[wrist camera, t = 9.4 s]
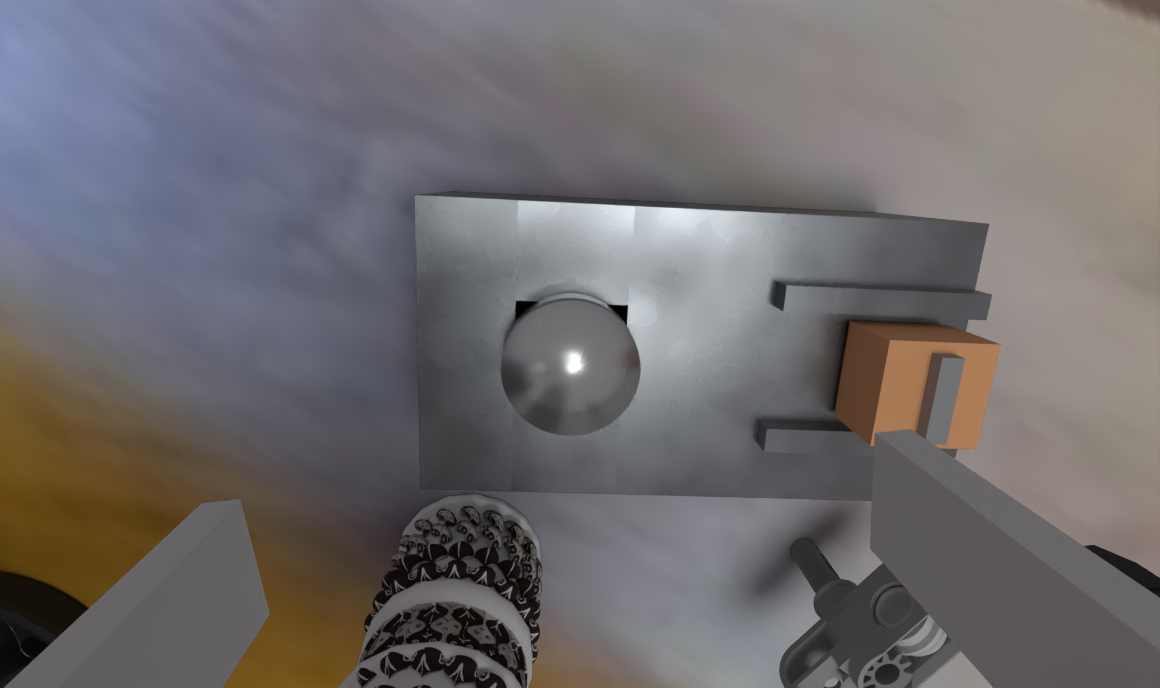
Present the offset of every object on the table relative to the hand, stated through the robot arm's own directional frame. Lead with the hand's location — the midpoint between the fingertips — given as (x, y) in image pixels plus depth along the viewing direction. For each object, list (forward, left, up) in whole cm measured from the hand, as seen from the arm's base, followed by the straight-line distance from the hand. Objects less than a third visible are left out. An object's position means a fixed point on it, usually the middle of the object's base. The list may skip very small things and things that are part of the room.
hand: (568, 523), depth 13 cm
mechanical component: (+15, -14, -21) cm, 29 cm away
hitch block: (+5, 0, -21) cm, 21 cm away
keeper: (+13, 0, -12) cm, 18 cm away
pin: (0, 0, -20) cm, 20 cm away
